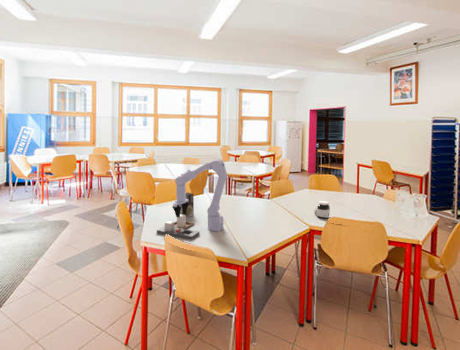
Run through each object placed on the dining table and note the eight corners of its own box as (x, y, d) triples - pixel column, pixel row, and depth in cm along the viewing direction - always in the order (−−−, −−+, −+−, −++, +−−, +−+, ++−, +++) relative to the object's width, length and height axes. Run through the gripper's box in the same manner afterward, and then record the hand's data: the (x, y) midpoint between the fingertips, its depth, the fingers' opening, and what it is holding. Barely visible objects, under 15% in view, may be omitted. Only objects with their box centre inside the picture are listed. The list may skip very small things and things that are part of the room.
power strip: (199, 235, 177) (199, 230, 177) (191, 240, 169) (191, 235, 168) (165, 229, 187) (165, 224, 186) (156, 234, 178) (156, 228, 178)
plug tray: (194, 225, 195) (194, 222, 195) (184, 231, 184) (184, 228, 184) (178, 222, 200) (178, 220, 199) (168, 228, 189) (168, 225, 189)
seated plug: (174, 232, 181) (174, 221, 180) (170, 235, 178) (170, 223, 176) (168, 231, 183) (168, 220, 182) (164, 233, 179) (164, 222, 178)
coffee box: (187, 213, 221) (187, 192, 219) (194, 215, 217) (193, 193, 215) (178, 216, 214) (178, 194, 212) (184, 218, 210) (184, 195, 208)
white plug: (185, 225, 193) (185, 215, 192) (182, 227, 189) (182, 216, 188) (180, 224, 194) (180, 214, 193) (177, 226, 191) (176, 215, 190)
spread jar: (325, 220, 210) (326, 204, 208) (310, 217, 217) (311, 201, 215) (331, 216, 219) (332, 201, 217) (316, 213, 226) (317, 198, 224)
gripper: (181, 191, 197) (182, 211, 199) (169, 196, 183) (169, 217, 186) (191, 192, 194) (191, 213, 196) (178, 197, 181) (178, 219, 183)
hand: (181, 215), depth 191 cm, fingers open, 7 cm apart
